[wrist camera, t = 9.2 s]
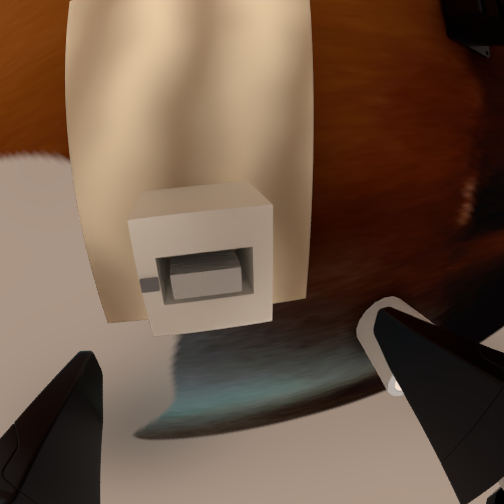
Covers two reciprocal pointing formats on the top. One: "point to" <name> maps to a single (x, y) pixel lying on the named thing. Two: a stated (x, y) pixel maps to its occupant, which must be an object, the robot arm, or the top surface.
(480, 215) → the top surface
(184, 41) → the maple board
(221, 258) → the post
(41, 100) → the top surface
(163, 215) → the box
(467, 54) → the top surface
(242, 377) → the top surface
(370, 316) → the shot glass
